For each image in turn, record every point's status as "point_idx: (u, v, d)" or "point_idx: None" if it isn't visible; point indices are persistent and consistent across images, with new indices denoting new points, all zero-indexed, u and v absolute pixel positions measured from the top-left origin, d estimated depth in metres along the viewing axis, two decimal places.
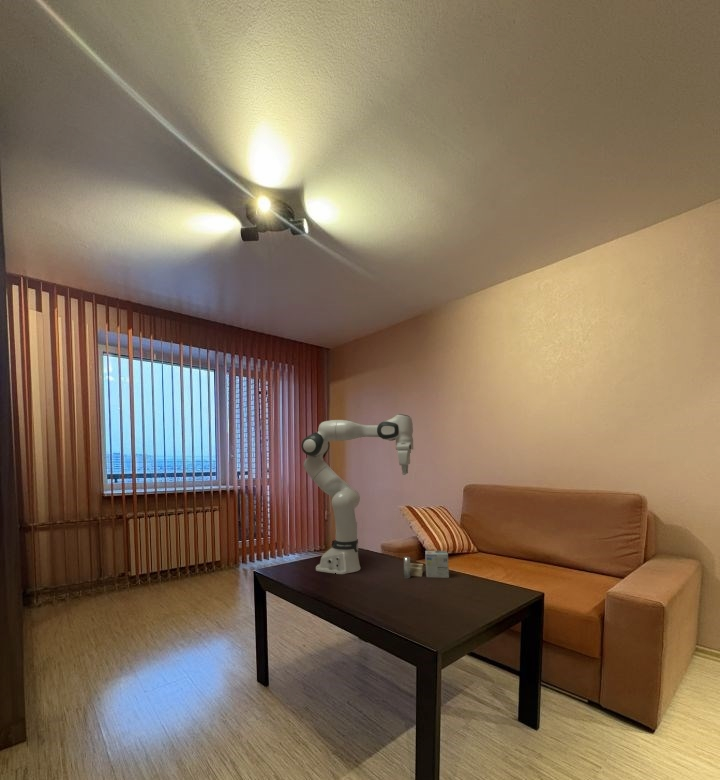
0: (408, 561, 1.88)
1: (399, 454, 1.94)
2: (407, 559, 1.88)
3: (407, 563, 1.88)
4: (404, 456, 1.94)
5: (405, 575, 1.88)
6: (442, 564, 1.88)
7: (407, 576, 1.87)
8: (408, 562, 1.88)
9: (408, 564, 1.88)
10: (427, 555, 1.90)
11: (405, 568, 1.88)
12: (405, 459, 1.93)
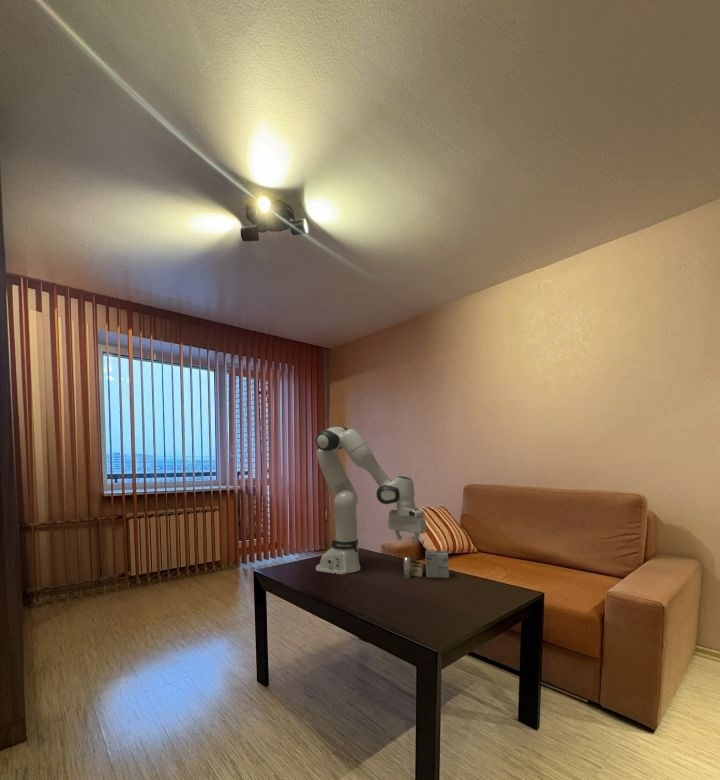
0: (408, 561, 1.88)
1: (420, 522, 1.85)
2: (407, 559, 1.88)
3: (407, 563, 1.88)
4: (424, 523, 1.86)
5: (405, 575, 1.88)
6: (442, 564, 1.88)
7: (407, 576, 1.87)
8: (408, 562, 1.88)
9: (408, 564, 1.88)
10: (427, 555, 1.90)
11: (405, 568, 1.88)
12: (425, 526, 1.86)
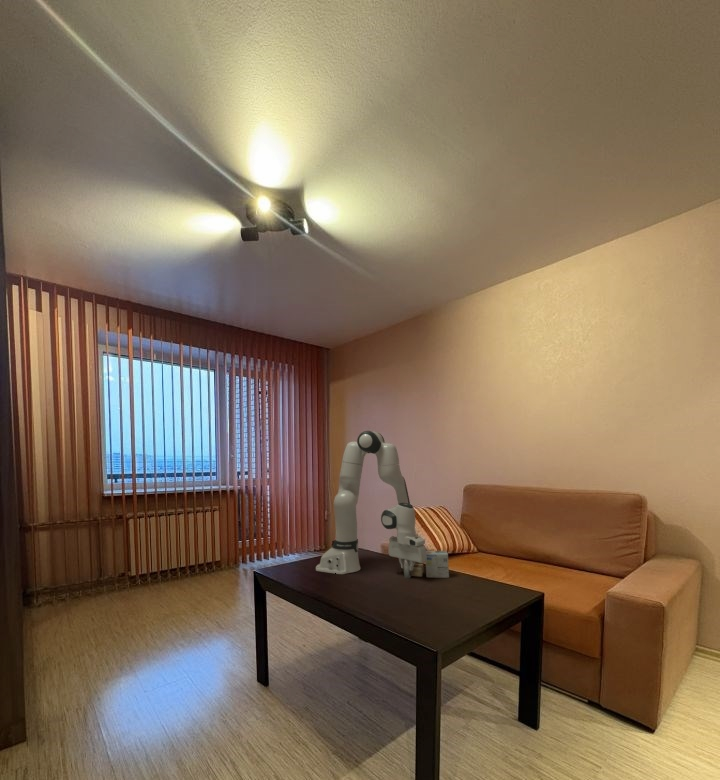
0: (408, 561, 1.88)
1: (421, 551, 1.83)
2: None
3: (407, 563, 1.88)
4: (424, 552, 1.84)
5: (405, 575, 1.88)
6: (442, 564, 1.88)
7: (407, 576, 1.87)
8: (408, 562, 1.88)
9: (408, 564, 1.88)
10: (427, 555, 1.90)
11: (405, 568, 1.88)
12: (425, 555, 1.84)
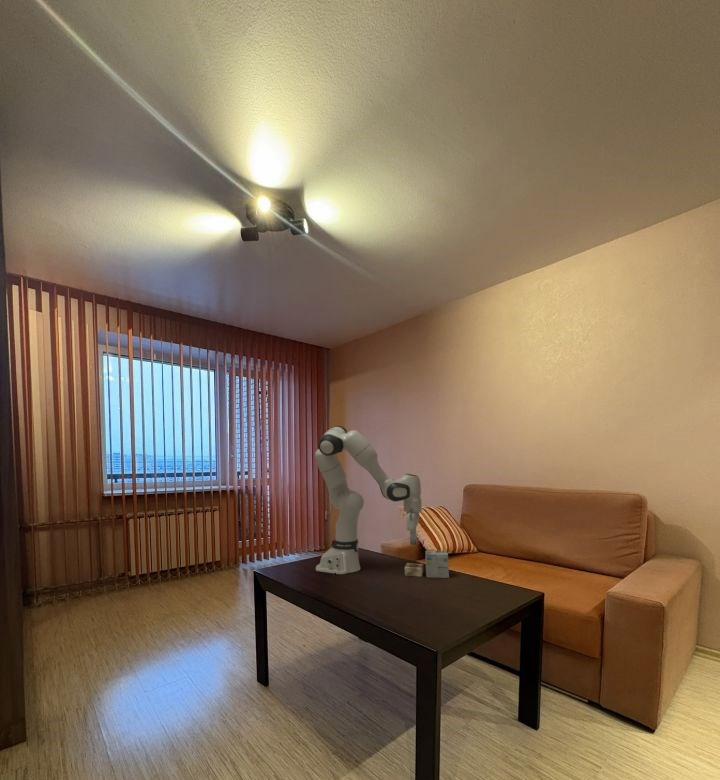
0: None
1: None
2: None
3: None
4: None
5: None
6: (442, 564, 1.88)
7: None
8: None
9: None
10: (427, 555, 1.90)
11: None
12: None
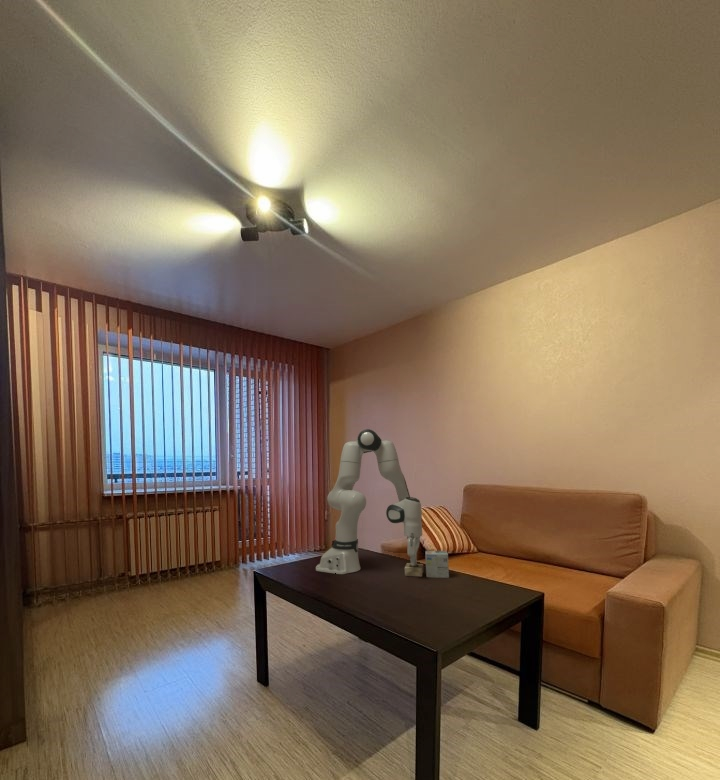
0: None
1: None
2: None
3: None
4: None
5: None
6: (442, 564, 1.88)
7: None
8: None
9: None
10: (427, 555, 1.90)
11: (416, 564, 1.95)
12: None
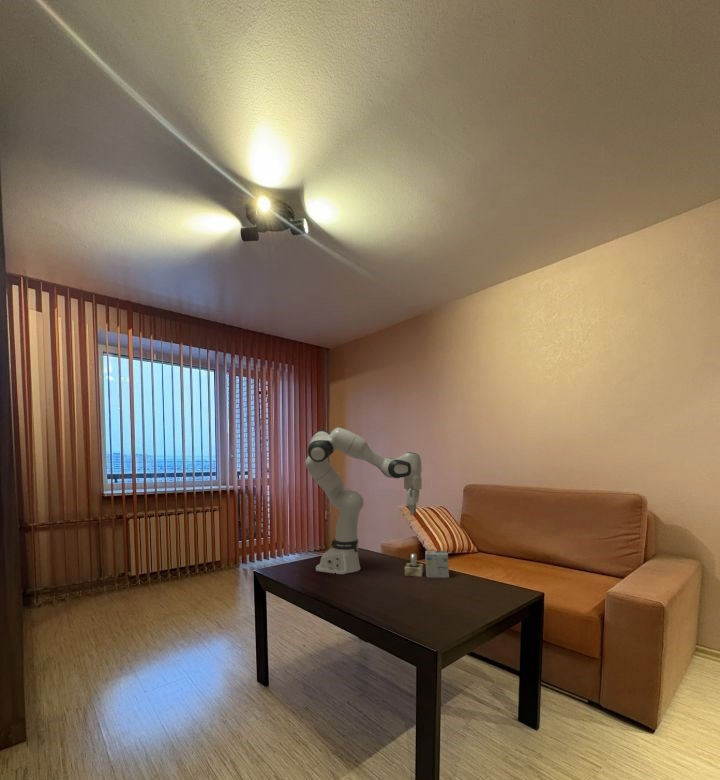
0: None
1: None
2: None
3: None
4: None
5: None
6: (442, 564, 1.88)
7: None
8: None
9: None
10: (427, 555, 1.90)
11: (416, 564, 1.95)
12: None
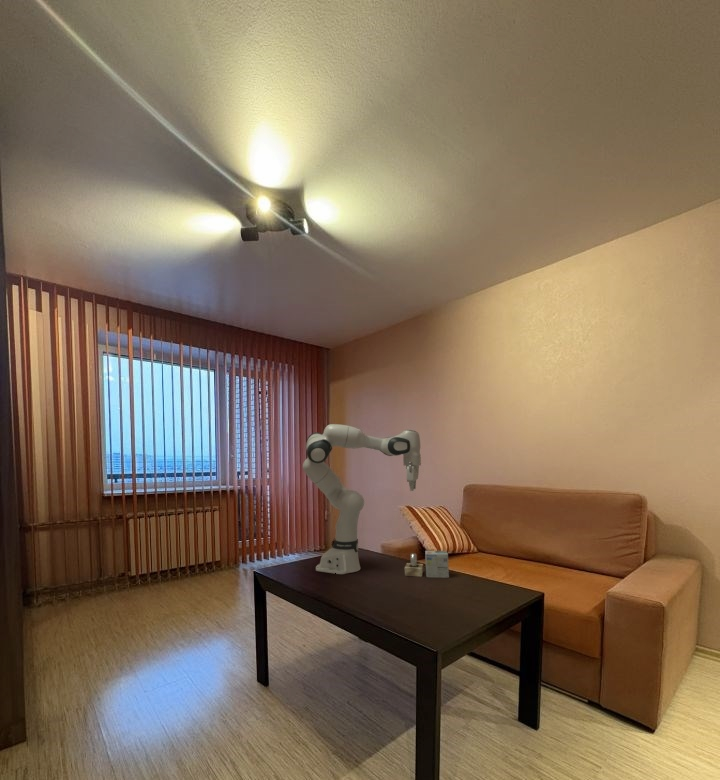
0: None
1: None
2: None
3: None
4: None
5: None
6: (442, 564, 1.88)
7: None
8: None
9: None
10: (427, 555, 1.90)
11: (416, 564, 1.95)
12: None
